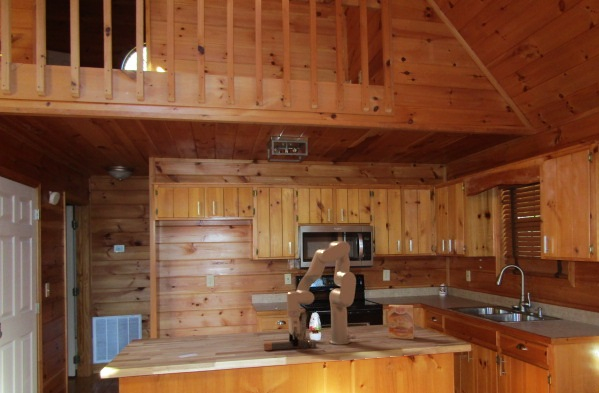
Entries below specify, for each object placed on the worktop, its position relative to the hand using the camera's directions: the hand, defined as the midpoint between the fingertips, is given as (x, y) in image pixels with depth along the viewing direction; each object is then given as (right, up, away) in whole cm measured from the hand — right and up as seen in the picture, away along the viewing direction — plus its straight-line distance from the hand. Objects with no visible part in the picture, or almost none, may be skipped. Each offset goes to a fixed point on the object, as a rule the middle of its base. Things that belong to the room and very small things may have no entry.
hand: (293, 344), depth 256 cm
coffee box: (+2, -4, +22) cm, 23 cm away
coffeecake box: (+67, -3, +23) cm, 70 cm away
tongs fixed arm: (-2, -2, -1) cm, 3 cm away
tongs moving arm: (-3, -2, -2) cm, 4 cm away
